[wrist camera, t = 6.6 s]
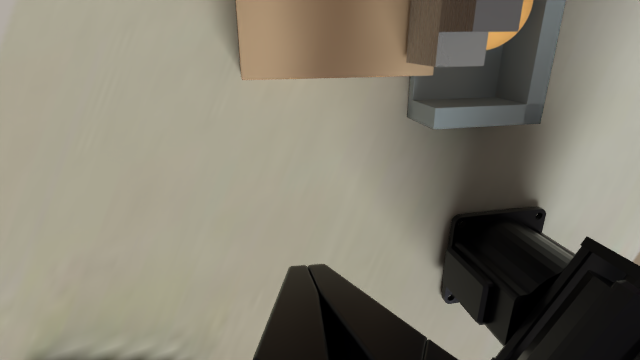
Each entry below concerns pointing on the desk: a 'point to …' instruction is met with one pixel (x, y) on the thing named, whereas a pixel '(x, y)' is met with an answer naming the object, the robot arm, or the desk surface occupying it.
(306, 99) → the desk surface
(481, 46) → the gray zigzag block
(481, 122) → the tray
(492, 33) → the ball
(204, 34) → the desk surface
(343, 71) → the tan block
